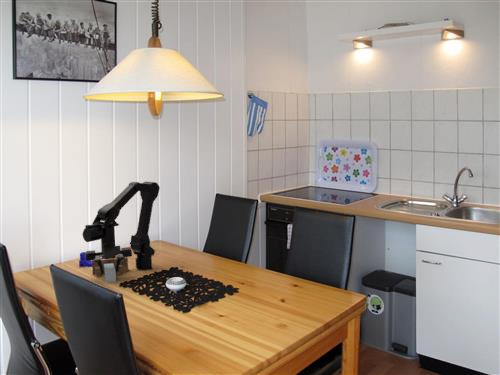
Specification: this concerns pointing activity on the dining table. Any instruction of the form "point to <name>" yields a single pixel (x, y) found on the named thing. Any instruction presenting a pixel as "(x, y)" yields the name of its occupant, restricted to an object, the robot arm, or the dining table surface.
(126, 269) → the brown wooden bridge block
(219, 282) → the dining table surface
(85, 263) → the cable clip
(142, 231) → the robot arm
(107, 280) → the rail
